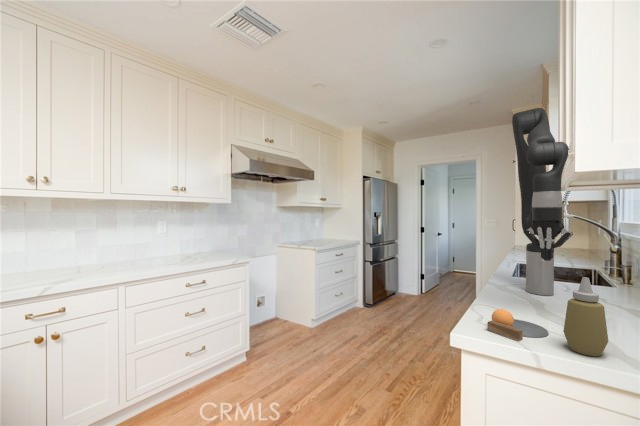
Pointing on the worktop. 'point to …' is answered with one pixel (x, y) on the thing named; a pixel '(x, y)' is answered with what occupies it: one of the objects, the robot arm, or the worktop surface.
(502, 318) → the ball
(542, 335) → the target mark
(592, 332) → the squeeze bottle
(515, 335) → the strip
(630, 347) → the worktop surface
